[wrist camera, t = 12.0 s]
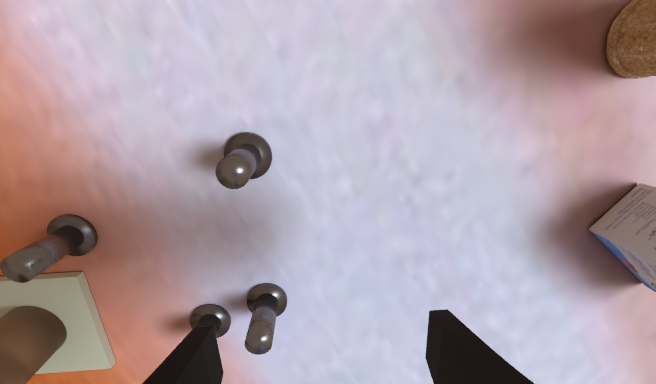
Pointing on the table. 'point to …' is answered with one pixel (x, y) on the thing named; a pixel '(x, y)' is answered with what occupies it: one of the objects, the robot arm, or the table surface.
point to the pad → (64, 318)
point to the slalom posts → (263, 301)
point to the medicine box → (632, 232)
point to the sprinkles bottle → (633, 40)
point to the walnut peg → (27, 342)
